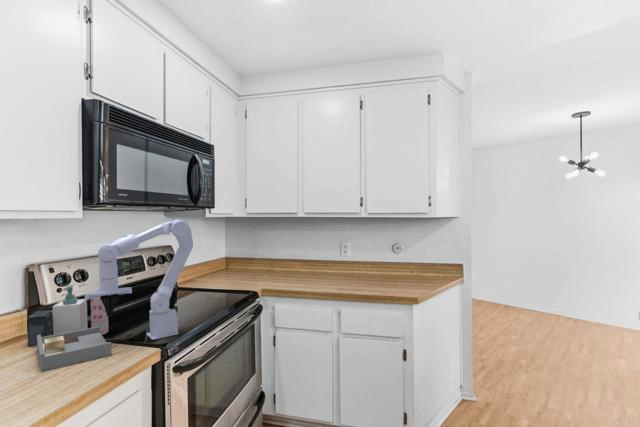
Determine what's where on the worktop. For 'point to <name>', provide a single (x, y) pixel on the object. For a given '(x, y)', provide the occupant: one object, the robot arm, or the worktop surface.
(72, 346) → the trap tray
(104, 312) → the beverage can
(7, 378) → the worktop surface
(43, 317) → the box
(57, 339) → the maple block
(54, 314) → the soap bottle
